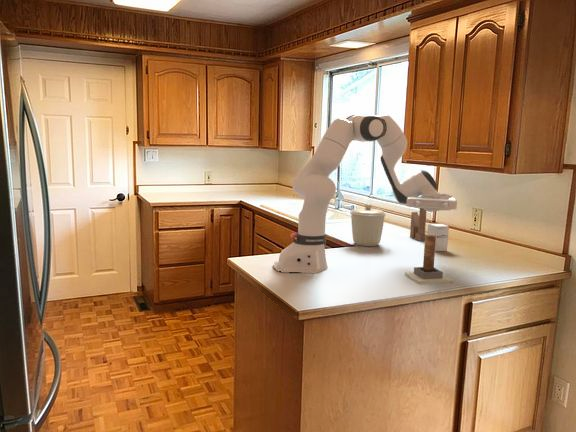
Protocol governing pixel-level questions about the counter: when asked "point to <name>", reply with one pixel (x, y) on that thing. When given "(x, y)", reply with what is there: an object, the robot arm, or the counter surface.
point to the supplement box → (439, 235)
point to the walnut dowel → (429, 253)
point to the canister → (367, 225)
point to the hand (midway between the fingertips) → (431, 205)
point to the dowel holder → (427, 276)
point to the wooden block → (418, 225)
